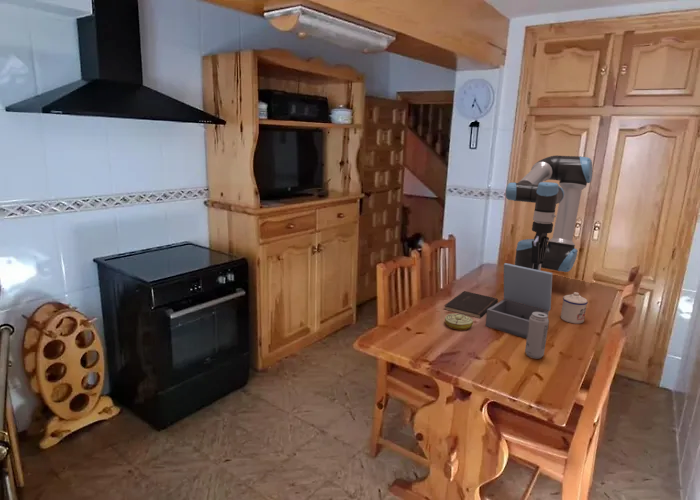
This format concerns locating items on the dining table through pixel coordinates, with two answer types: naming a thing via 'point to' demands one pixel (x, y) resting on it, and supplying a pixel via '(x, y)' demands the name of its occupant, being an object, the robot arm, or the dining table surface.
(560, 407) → the dining table surface
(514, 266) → the gray box lid
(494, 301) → the hardcover book
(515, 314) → the grey hinged box
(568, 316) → the teacup with lid
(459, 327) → the olive round disc
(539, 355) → the energy drink can
